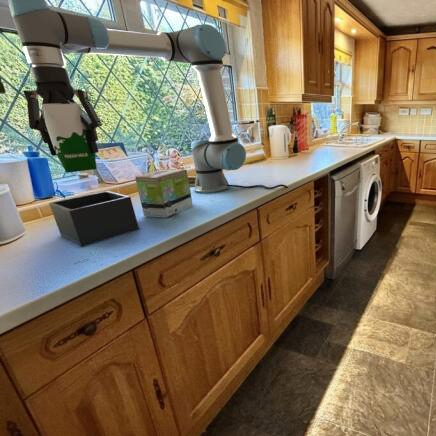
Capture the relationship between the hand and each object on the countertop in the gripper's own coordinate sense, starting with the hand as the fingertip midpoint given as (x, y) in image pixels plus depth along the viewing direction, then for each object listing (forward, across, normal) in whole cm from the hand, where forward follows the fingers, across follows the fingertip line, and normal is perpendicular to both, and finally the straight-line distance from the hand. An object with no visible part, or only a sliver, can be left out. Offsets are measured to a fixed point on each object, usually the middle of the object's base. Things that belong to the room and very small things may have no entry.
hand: (75, 153), depth 87 cm
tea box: (+25, +16, +17) cm, 34 cm away
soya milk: (+5, 0, 0) cm, 5 cm away
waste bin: (+25, 0, 0) cm, 25 cm away
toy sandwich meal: (+25, +17, +62) cm, 69 cm away
